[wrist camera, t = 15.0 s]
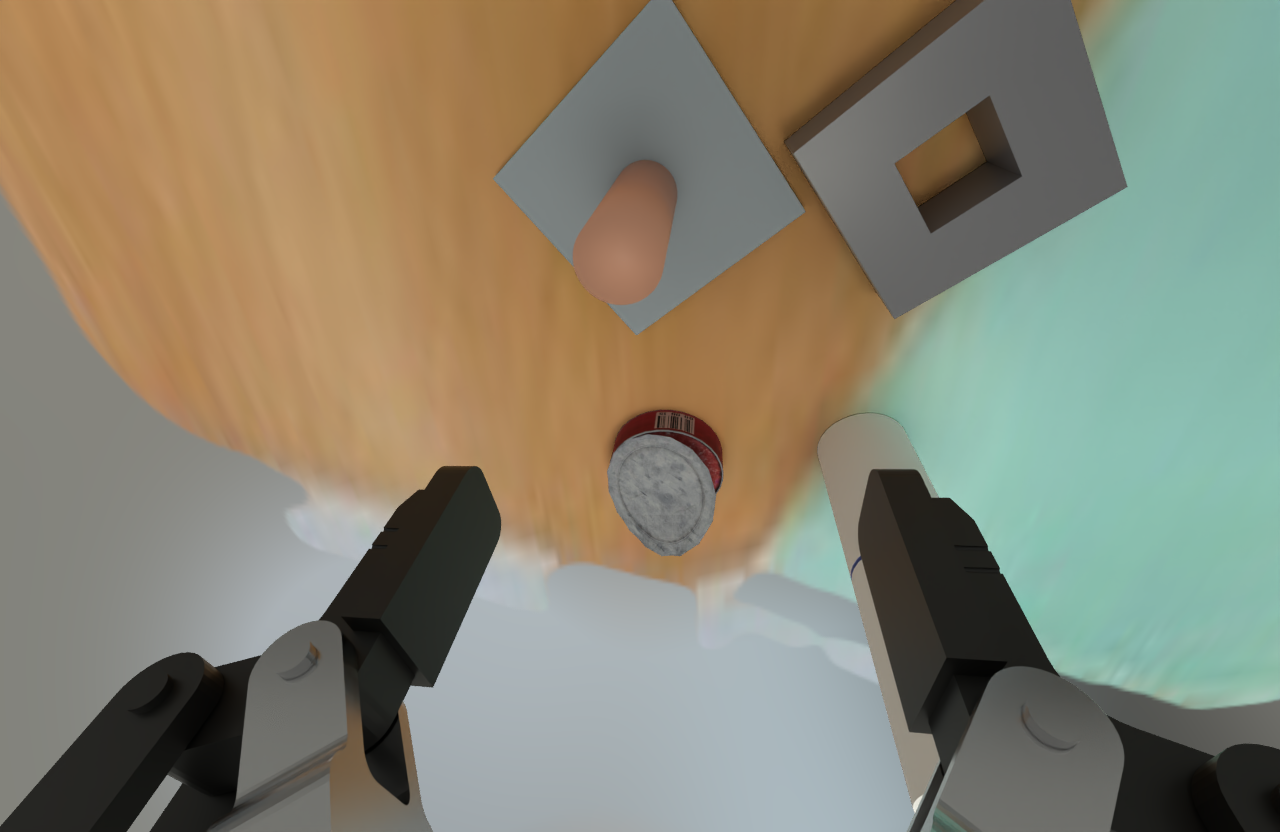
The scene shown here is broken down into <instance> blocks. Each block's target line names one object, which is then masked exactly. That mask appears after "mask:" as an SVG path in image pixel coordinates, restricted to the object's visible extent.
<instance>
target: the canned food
mask: <svg viewBox="0 0 1280 832" xmlns="http://www.w3.org/2000/svg"><path fill="white" fill-rule="evenodd" d="M607 474H608V484H609V493H610V495H611V497H612V499H613V502H614V505H615V508H616V510H617V513H618V514H619V515H620V517H621V518H622V519H623V520H624V522H625V523H626V525H627V527H628V528H629V530H630V531H631V532H632V533H633V534H634V535H635V536H636V537H637V538H639V540H640V541H641V542H642V543H643V544H644V546H645V547H647V548H649V549H650V550H652V551H654V552H656V553H657V554H659V555H661V556H669V555H674V556H681V555H682V554H684V553H685V552H687V551H688V550H690V549H692V548H693V547H695V546H696V545H698V544H699V543H700V541H701V539H702V538H703V536H704V535H705V533H706V532H707V530H708V528H709V527H710V525H711V523H712V522H713V515H714V508H715V499H716V494H717V492H718V491H719V489H720V487H721V484H722V481H723V464H722V448H721V444H720V441H719V439H718V437H717V435H716V433H715V432H714V431H713V430H712V429H711V427H710V426H708V425H707V424H706V423H705V422H703V421H702V420H700V419H698V418H697V417H695V416H693V415H690V414H687V413H684V412H680V411H674V410H656V411H650V412H646V413H643V414H640V415H638V416H636V417H634V418H633V419H631V420H630V421H628V422H627V423H626V424H625V425H624V426H623V427H622V428H621V430H620V431H619V433H618V435H617V437H616V440H615V445H614V449H613V453H612V458H611V460H610V465H609V468H608V471H607Z"/></svg>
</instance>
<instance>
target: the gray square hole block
mask: <svg viewBox="0 0 1280 832" xmlns="http://www.w3.org/2000/svg"><path fill="white" fill-rule="evenodd" d="M964 113H966V114H967V116H968V118H969V121H970V123H971V125H972V128H973V130H974V132H975V135H976V137H977V139H978V142H979V144H980V146H981V149H982V151H983V153H984V156H985V158H986V160H987V162H986V163H985V164H983V165H982V166H980V167H979V168H977V169H976V170H974V171H972V172H971V173H969V174H968V175H966V176H965V177H963V178H962V179H960V180H959V181H957V182H956V183H954V184H953V185H951V186H950V187H948V188H947V189H945V190H944V191H942V192H941V193H939V194H938V195H936V196H935V197H933V198H932V199H930V200H928V201H927V202H925V203H924V204H922V205H921V206H919V207H918V208H917V206H916V204H915V202H914V200H913V199H912V197H911V195H910V193H909V191H908V189H907V187H906V185H905V183H904V181H903V179H902V177H901V175H900V174H899V172H898V170H897V168H896V166H895V164H894V163H896V162H897V161H899V160H900V159H901V158H903V157H904V156H906V155H907V154H908V153H910V152H911V151H913V150H914V149H915V148H917V147H918V146H920V145H921V144H922V143H924V142H925V141H927V140H928V139H929V138H931V137H932V136H934V135H935V134H936V133H938V132H939V131H941V130H942V129H943V128H945V127H946V126H948V125H949V124H950V123H952V122H953V121H955V120H956V119H957V118H959V117H960V116H962V115H963V114H964ZM784 143H785V144H786V146H787V147H788V149H789V151H790V152H791V154H792V156H793V157H794V159H795V160H796V162H797V164H798V165H799V167H800V169H801V170H802V172H803V174H804V175H805V177H806V178H807V180H808V182H809V183H810V185H811V187H812V188H813V190H814V192H815V193H816V195H817V196H818V198H819V200H820V201H821V203H822V205H823V206H824V208H825V209H826V211H827V213H828V214H829V216H830V218H831V219H832V221H833V223H834V224H835V226H836V227H837V229H838V231H839V232H840V234H841V236H842V237H843V239H844V241H845V242H846V244H847V245H848V247H849V249H850V250H851V252H852V254H853V255H854V257H855V259H856V260H857V262H858V263H859V265H860V267H861V268H862V270H863V272H864V273H865V275H866V276H867V278H868V280H869V281H870V283H871V285H872V286H873V288H874V290H875V291H876V293H877V294H878V296H879V297H880V299H881V300H882V302H883V303H884V305H885V306H886V307H887V309H888V310H889V312H890V313H891V315H892V316H893V318H894V319H896V318H897V317H899V316H901V315H903V314H904V313H906V312H908V311H910V310H911V309H913V308H915V307H917V306H918V305H920V304H922V303H924V302H926V301H927V300H929V299H931V298H933V297H934V296H936V295H938V294H940V293H941V292H943V291H945V290H947V289H948V288H950V287H952V286H954V285H955V284H957V283H959V282H961V281H963V280H964V279H966V278H968V277H970V276H971V275H973V274H975V273H977V272H978V271H980V270H982V269H984V268H985V267H987V266H989V265H991V264H992V263H994V262H996V261H998V260H999V259H1001V258H1003V257H1005V256H1007V255H1008V254H1010V253H1012V252H1014V251H1015V250H1017V249H1019V248H1021V247H1022V246H1024V245H1026V244H1028V243H1029V242H1031V241H1033V240H1035V239H1036V238H1038V237H1040V236H1042V235H1043V234H1045V233H1047V232H1049V231H1051V230H1052V229H1054V228H1056V227H1058V226H1059V225H1061V224H1063V223H1065V222H1066V221H1068V220H1070V219H1072V218H1073V217H1075V216H1077V215H1079V214H1080V213H1082V212H1084V211H1086V210H1088V209H1089V208H1091V207H1093V206H1095V205H1096V204H1098V203H1100V202H1102V201H1103V200H1105V199H1107V198H1109V197H1110V196H1112V195H1114V194H1116V193H1117V192H1119V191H1121V190H1123V189H1124V188H1126V187H1127V184H1126V181H1125V178H1124V174H1123V171H1122V168H1121V164H1120V161H1119V158H1118V155H1117V151H1116V148H1115V145H1114V141H1113V138H1112V135H1111V131H1110V128H1109V125H1108V122H1107V118H1106V115H1105V112H1104V108H1103V105H1102V102H1101V99H1100V95H1099V92H1098V89H1097V85H1096V82H1095V79H1094V75H1093V72H1092V69H1091V66H1090V62H1089V59H1088V56H1087V52H1086V49H1085V46H1084V43H1083V39H1082V36H1081V33H1080V29H1079V26H1078V23H1077V19H1076V16H1075V13H1074V10H1073V6H1072V3H1071V0H956V1H955V2H953V3H952V4H951V5H950V6H948V7H947V8H946V9H945V10H944V11H942V12H941V13H940V14H939V15H938V16H936V17H935V18H934V19H933V20H931V21H930V22H929V23H928V24H927V25H925V26H924V27H923V28H922V29H920V30H919V31H918V32H917V33H916V34H914V35H913V36H912V37H911V38H910V39H908V40H907V41H906V42H905V43H903V44H902V45H901V46H900V47H899V48H897V49H896V50H895V51H894V52H893V53H891V54H890V55H889V56H888V57H886V58H885V59H884V60H883V61H882V62H880V63H879V64H878V65H877V66H875V67H874V68H873V69H872V70H871V71H869V72H868V73H867V74H866V75H865V76H863V77H862V78H861V79H860V80H858V81H857V82H856V83H855V84H854V85H852V86H851V87H850V88H849V89H848V90H846V91H845V92H844V93H843V94H841V95H840V96H839V97H838V98H837V99H835V100H834V101H833V102H832V103H830V104H829V105H828V106H827V107H826V108H824V109H823V110H822V111H821V112H820V113H818V114H817V115H816V116H815V117H813V118H812V119H811V120H810V121H809V122H807V123H806V124H805V125H804V126H803V127H801V128H800V129H799V130H798V131H796V132H795V133H794V134H793V135H792V136H790V137H789V138H788V139H787V140H785V141H784Z"/></svg>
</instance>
